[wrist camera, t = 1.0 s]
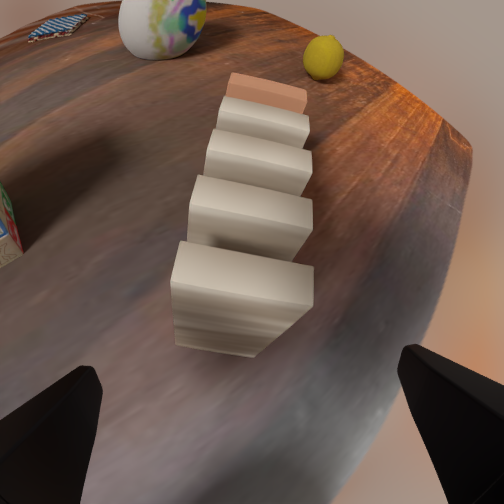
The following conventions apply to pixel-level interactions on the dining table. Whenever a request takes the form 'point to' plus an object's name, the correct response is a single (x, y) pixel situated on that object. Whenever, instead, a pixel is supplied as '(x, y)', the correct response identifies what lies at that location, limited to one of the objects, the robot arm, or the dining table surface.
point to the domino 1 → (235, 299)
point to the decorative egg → (161, 26)
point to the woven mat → (58, 27)
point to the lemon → (323, 57)
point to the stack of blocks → (8, 231)
